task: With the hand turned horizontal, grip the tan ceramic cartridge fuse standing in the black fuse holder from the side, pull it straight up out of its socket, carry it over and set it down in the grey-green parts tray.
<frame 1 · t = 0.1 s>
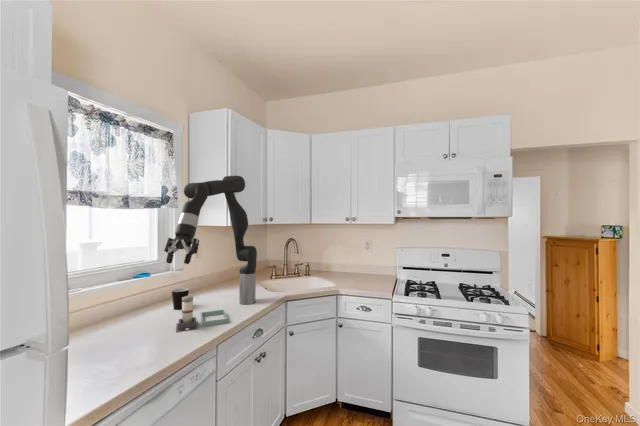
hand: (177, 263, 119), 31 cm above the worktop, tool tilted 20°, fingers open, 8 cm apart
parts tray: (213, 321, 141), on the worktop
fuse: (187, 326, 132), point 1 cm above the worktop, touching fuse holder
fuse holder: (187, 328, 132), on the worktop
coffee mug: (182, 307, 164), on the worktop
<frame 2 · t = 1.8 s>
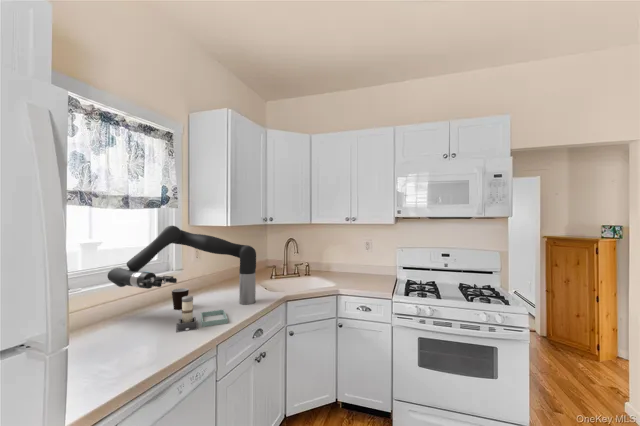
hand: (168, 282, 136), 20 cm above the worktop, tool horizontal, fingers open, 8 cm apart
nothing on the worktop moved.
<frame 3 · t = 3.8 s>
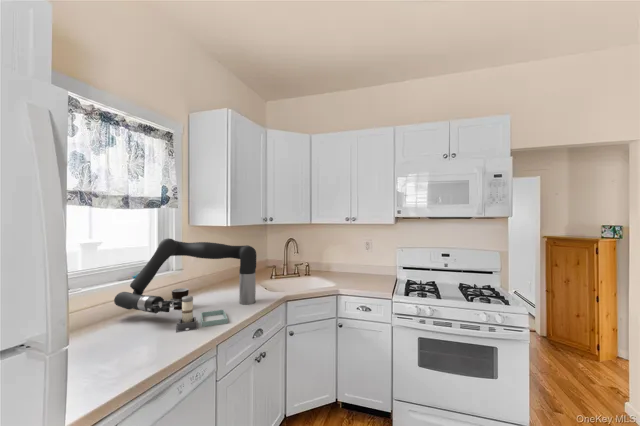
hand: (176, 307, 135), 9 cm above the worktop, tool horizontal, fingers open, 8 cm apart
nothing on the worktop moved.
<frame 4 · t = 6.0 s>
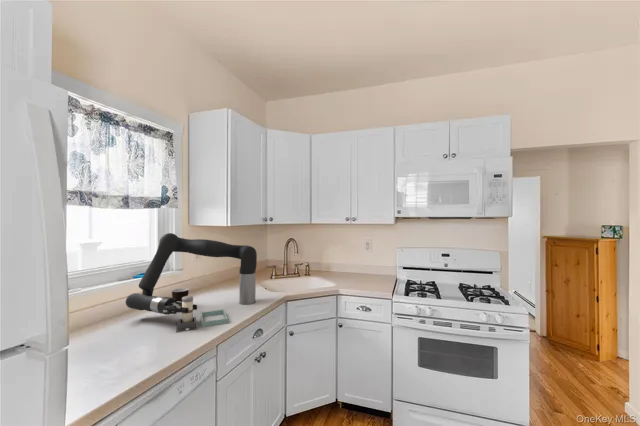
hand: (192, 308, 131), 9 cm above the worktop, tool horizontal, fingers closed on fuse, 4 cm apart
fuse: (187, 326, 132), point 1 cm above the worktop, touching fuse holder, gripper
everything else where it was.
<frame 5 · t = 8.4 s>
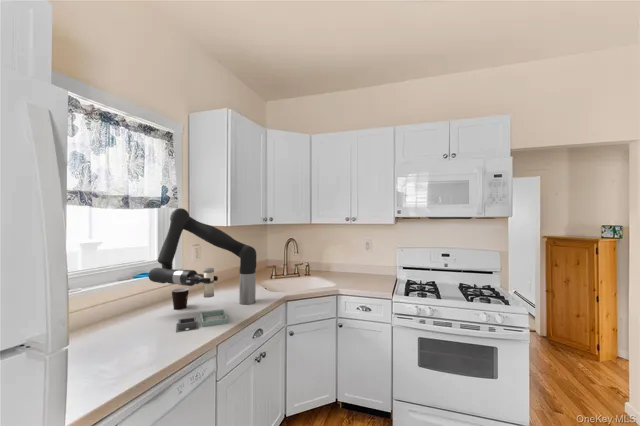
hand: (213, 279, 138), 21 cm above the worktop, tool horizontal, fingers closed on fuse, 4 cm apart
fuse: (208, 296, 139), point 13 cm above the worktop, touching gripper
everything else where it was.
when the fingers open (9 cm above the worktop, at t = 11.2 s): fuse stays where it is, resting on parts tray.
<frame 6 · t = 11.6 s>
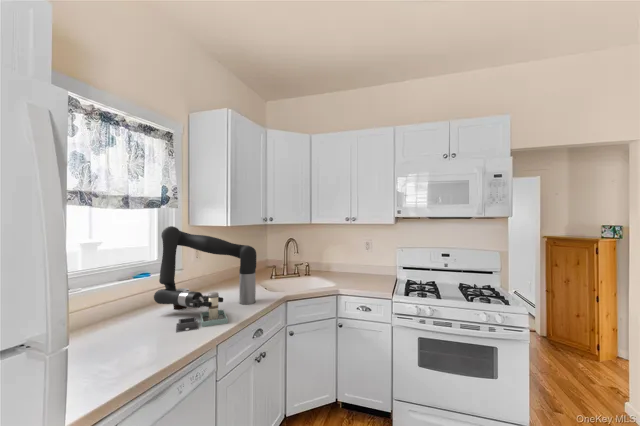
hand: (217, 302, 140), 10 cm above the worktop, tool horizontal, fingers open, 7 cm apart
fuse: (213, 320, 141), point 1 cm above the worktop, touching parts tray
everything else where it was.
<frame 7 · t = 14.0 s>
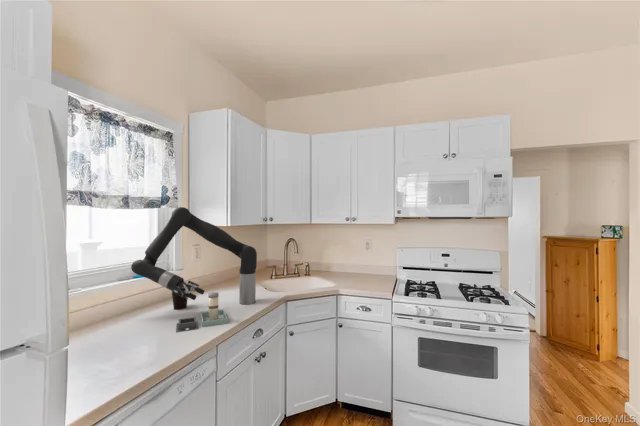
hand: (199, 295, 147), 11 cm above the worktop, tool tilted 65°, fingers open, 8 cm apart
nothing on the worktop moved.
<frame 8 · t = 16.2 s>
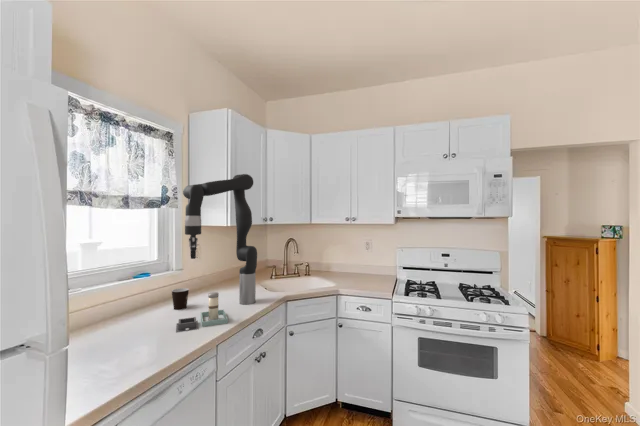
hand: (193, 257, 146), 30 cm above the worktop, tool pointing down, fingers open, 8 cm apart
nothing on the worktop moved.
at the end: fuse inside the target area on the parts tray (0.1 cm from its centre), point 0.5 cm above the parts tray's base; the gripper is holding nothing; fuse touching parts tray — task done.
